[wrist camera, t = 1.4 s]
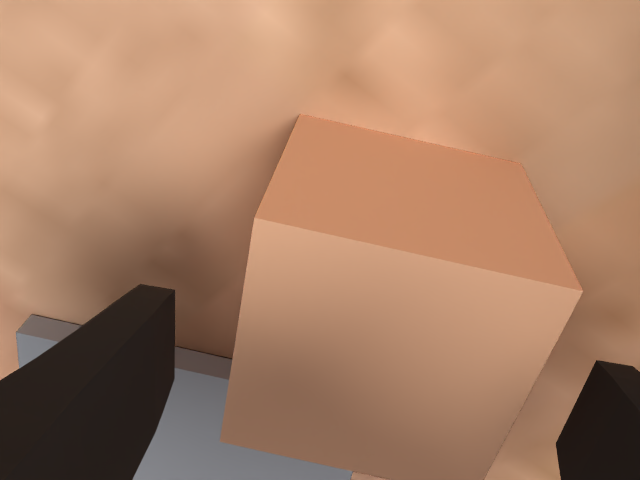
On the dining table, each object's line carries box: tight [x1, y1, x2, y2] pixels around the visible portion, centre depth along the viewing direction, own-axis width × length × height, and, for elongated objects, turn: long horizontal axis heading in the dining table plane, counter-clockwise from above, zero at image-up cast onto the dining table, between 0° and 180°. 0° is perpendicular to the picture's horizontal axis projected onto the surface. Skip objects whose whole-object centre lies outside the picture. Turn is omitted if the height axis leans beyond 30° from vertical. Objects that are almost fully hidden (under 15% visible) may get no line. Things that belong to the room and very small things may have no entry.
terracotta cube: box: [220, 114, 583, 480], centre depth 12 cm, size 5×5×5 cm
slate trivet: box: [16, 315, 353, 480], centre depth 19 cm, size 10×10×1 cm
